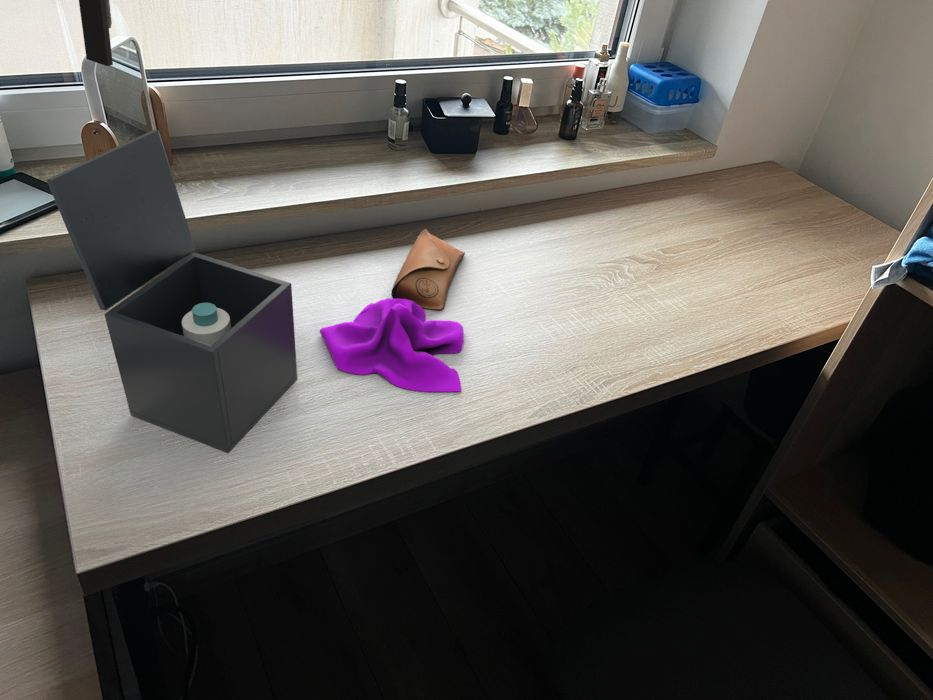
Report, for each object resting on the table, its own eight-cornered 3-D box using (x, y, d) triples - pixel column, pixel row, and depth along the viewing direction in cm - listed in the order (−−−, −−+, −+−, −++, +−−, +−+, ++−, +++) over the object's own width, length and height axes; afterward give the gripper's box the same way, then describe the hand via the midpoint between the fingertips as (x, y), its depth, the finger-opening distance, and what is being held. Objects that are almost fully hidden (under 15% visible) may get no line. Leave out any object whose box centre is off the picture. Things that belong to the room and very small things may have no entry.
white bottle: (221, 411, 86) (209, 328, 78) (185, 397, 87) (169, 314, 80) (247, 386, 90) (237, 303, 82) (212, 373, 91) (199, 291, 84)
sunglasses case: (446, 309, 107) (426, 273, 104) (405, 322, 110) (384, 286, 107) (466, 250, 122) (449, 217, 118) (430, 263, 124) (412, 230, 121)
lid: (158, 130, 79) (153, 129, 79) (52, 180, 68) (45, 179, 68) (195, 249, 87) (190, 248, 87) (105, 311, 76) (99, 309, 76)
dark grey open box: (297, 379, 93) (291, 283, 84) (228, 453, 82) (212, 352, 73) (208, 347, 96) (193, 251, 87) (130, 415, 85) (103, 313, 76)
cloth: (297, 350, 98) (294, 313, 94) (377, 290, 111) (378, 255, 107) (436, 417, 90) (440, 380, 86) (505, 344, 103) (510, 309, 99)
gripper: (-118, -195, 47) (-41, 120, 60) (150, -173, 67) (166, 61, 79) (-202, -218, 49) (-109, 94, 61) (85, -190, 68) (110, 42, 81)
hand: (46, 76), depth 70 cm, fingers open, 13 cm apart
